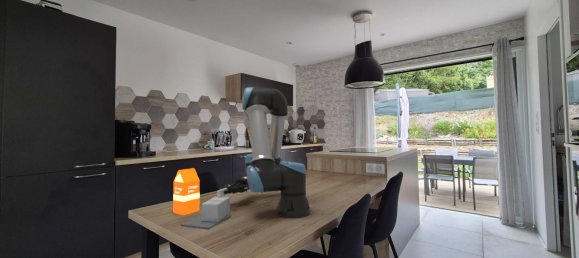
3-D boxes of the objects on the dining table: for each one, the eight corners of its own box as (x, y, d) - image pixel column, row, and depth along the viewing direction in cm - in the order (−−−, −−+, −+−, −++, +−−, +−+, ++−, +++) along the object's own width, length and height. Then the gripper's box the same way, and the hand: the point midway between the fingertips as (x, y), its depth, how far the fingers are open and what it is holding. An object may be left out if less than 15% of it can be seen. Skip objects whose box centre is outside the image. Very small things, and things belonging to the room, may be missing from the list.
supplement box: (230, 196, 112) (218, 204, 99) (230, 213, 112) (218, 223, 99) (214, 196, 113) (201, 203, 100) (214, 212, 113) (200, 221, 100)
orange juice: (199, 210, 119) (199, 168, 120) (183, 215, 111) (183, 170, 112) (189, 208, 123) (189, 167, 124) (172, 212, 115) (173, 169, 116)
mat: (206, 214, 113) (206, 212, 113) (231, 216, 109) (231, 215, 109) (180, 225, 98) (180, 224, 98) (208, 229, 94) (208, 227, 94)
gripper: (254, 192, 132) (231, 203, 109) (233, 190, 136) (206, 201, 113) (254, 178, 132) (231, 186, 109) (233, 177, 136) (206, 184, 113)
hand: (218, 193), depth 111 cm, fingers closed
